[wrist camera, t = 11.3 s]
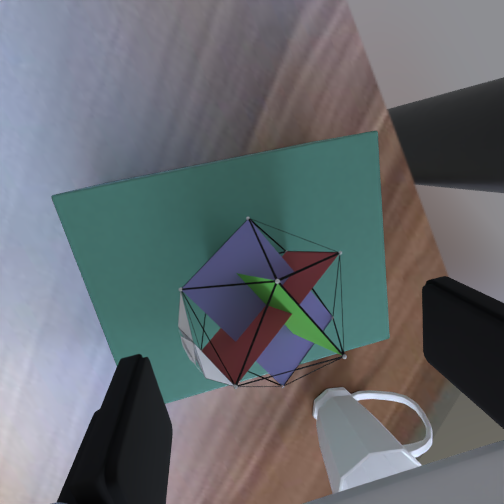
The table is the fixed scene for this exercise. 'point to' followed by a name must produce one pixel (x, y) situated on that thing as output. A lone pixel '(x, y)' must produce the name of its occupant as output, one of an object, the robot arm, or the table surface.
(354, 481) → the cup
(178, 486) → the table surface
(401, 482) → the robot arm
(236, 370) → the geometric puzzle
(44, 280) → the table surface
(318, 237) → the lunchbox lid
